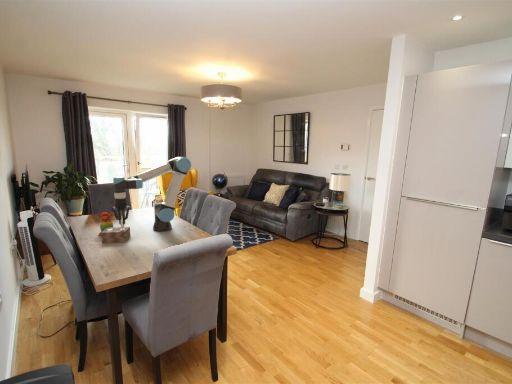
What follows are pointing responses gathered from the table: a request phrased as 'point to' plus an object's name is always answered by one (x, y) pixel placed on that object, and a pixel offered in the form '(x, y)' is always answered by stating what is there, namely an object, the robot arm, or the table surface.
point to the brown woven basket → (115, 235)
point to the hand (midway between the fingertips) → (122, 228)
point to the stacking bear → (105, 222)
